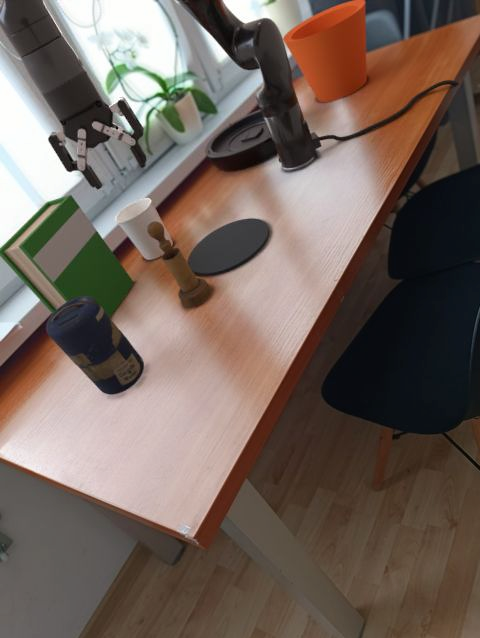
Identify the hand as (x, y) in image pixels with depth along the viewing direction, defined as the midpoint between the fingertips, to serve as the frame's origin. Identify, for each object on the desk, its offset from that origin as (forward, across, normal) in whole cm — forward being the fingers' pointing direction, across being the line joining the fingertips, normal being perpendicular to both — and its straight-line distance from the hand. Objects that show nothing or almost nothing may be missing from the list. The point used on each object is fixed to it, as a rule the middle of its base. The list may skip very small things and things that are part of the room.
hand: (121, 176), depth 83 cm
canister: (+28, -16, -16) cm, 36 cm away
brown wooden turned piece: (+28, 0, 0) cm, 28 cm away
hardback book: (+28, -23, +12) cm, 38 cm away
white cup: (+28, -9, +29) cm, 41 cm away
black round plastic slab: (+27, +25, +66) cm, 76 cm away
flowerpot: (+27, +57, +80) cm, 102 cm away
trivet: (+28, +9, +14) cm, 32 cm away
